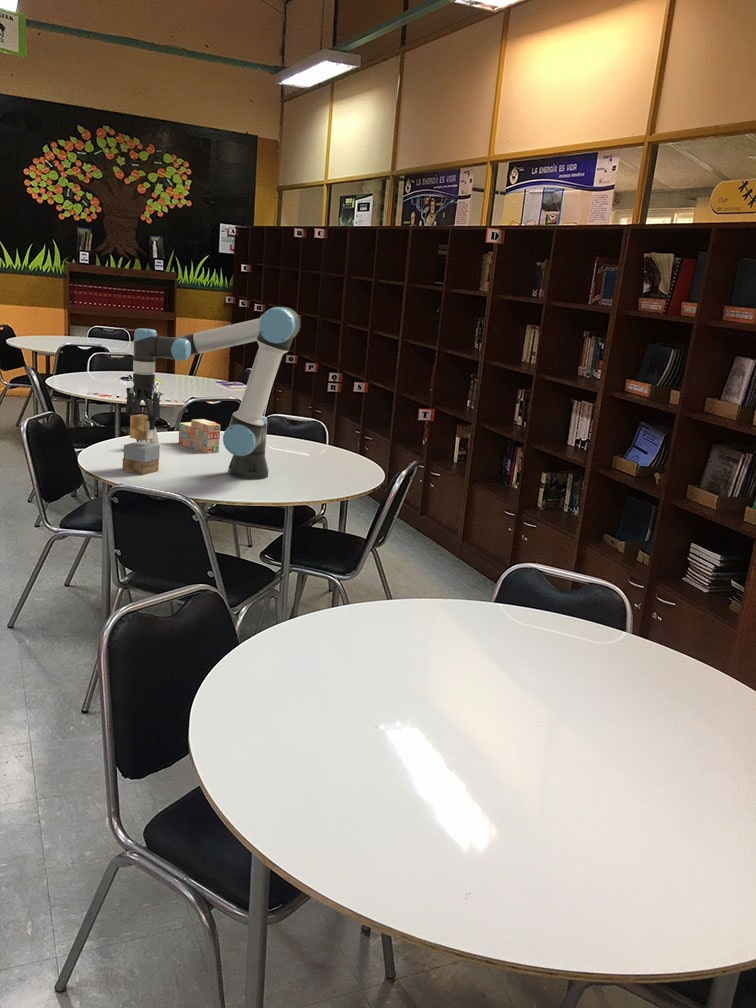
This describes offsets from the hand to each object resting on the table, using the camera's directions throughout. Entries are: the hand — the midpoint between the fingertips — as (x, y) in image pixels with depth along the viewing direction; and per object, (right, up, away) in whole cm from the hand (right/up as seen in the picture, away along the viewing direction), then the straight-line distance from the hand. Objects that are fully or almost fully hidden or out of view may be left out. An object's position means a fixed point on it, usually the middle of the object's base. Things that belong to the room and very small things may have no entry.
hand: (142, 436), depth 299 cm
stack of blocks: (+9, -1, +52) cm, 53 cm away
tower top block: (-1, -8, +2) cm, 8 cm away
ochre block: (0, 0, 0) cm, 0 cm away
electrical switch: (-9, -3, +38) cm, 39 cm away
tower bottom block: (-1, -12, +3) cm, 13 cm away
